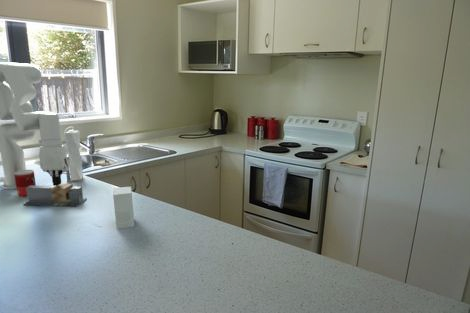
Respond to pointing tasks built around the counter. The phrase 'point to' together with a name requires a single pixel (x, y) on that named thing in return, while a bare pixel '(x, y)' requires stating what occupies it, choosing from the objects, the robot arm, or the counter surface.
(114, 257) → the counter surface
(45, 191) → the notched rail
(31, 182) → the canned food
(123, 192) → the small box
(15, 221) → the counter surface
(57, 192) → the tan slotted wooden block
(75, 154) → the skyscraper
